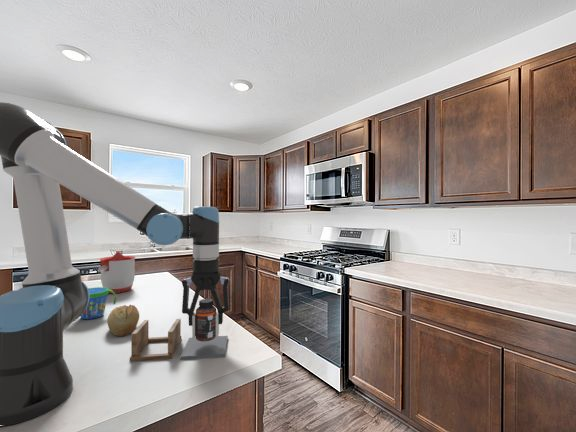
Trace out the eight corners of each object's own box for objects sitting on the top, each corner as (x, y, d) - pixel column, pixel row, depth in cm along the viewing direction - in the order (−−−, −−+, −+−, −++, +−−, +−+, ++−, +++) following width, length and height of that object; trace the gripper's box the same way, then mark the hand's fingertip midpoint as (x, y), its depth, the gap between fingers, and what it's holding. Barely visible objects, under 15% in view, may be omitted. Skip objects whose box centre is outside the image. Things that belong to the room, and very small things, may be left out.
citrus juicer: (89, 293, 141) (89, 253, 141) (121, 285, 157) (121, 249, 157) (110, 297, 135) (110, 255, 135) (142, 288, 151) (142, 251, 151)
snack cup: (115, 309, 119) (115, 284, 119) (116, 316, 111) (116, 290, 110) (68, 316, 111) (68, 290, 111) (65, 325, 102) (65, 297, 102)
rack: (171, 358, 79) (171, 333, 79) (129, 361, 78) (129, 335, 78) (181, 339, 92) (181, 317, 91) (145, 340, 90) (145, 318, 90)
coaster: (224, 356, 81) (224, 353, 81) (180, 359, 79) (180, 356, 79) (227, 338, 92) (227, 335, 92) (189, 340, 91) (189, 337, 91)
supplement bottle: (216, 341, 84) (216, 302, 83) (195, 343, 82) (195, 304, 82) (216, 332, 89) (216, 296, 89) (196, 335, 88) (196, 298, 88)
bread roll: (137, 319, 108) (137, 298, 108) (141, 334, 95) (141, 310, 95) (107, 325, 103) (107, 302, 103) (107, 340, 90) (107, 315, 90)
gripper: (238, 255, 90) (238, 328, 91) (176, 256, 88) (176, 331, 88) (237, 259, 83) (237, 338, 83) (169, 261, 80) (169, 342, 81)
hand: (206, 335), depth 86 cm, fingers closed on supplement bottle, 6 cm apart
